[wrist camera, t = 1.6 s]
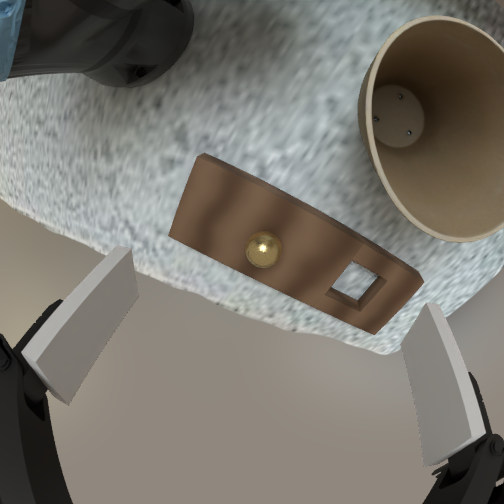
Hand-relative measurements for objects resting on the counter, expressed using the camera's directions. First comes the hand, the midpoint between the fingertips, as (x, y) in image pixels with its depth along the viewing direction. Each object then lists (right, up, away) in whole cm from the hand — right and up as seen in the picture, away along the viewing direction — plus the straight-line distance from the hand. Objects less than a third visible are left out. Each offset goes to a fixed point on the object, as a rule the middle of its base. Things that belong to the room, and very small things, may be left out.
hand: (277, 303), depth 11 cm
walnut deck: (+5, +2, +23) cm, 24 cm away
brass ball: (0, +2, +19) cm, 19 cm away
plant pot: (+15, +17, +13) cm, 26 cm away
